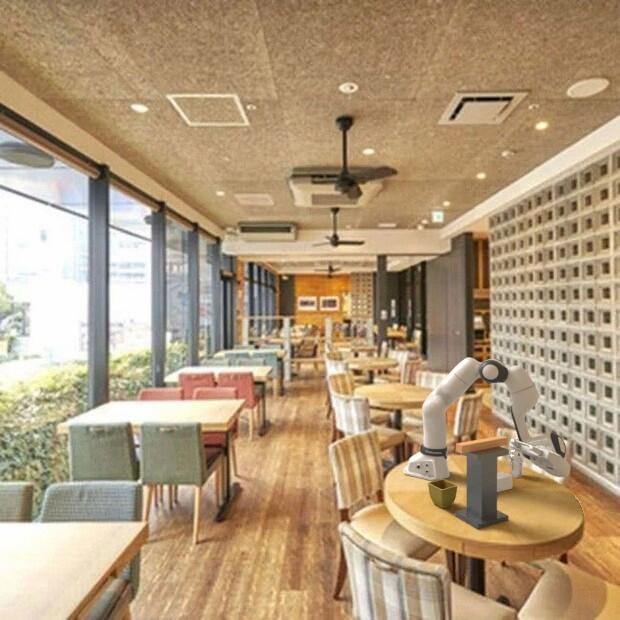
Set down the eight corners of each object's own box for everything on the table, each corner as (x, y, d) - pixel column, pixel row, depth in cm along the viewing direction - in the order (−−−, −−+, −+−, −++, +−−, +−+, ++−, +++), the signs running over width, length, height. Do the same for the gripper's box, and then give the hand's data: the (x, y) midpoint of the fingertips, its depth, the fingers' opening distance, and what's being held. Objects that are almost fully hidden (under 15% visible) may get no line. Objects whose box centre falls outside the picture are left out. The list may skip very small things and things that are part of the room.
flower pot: (441, 511, 192) (441, 489, 192) (427, 503, 200) (427, 482, 200) (457, 507, 196) (457, 485, 196) (442, 499, 204) (442, 478, 204)
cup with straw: (507, 471, 236) (507, 431, 235) (526, 474, 232) (527, 433, 232) (507, 477, 228) (507, 436, 227) (527, 480, 224) (527, 438, 224)
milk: (502, 483, 220) (466, 492, 211) (502, 470, 220) (466, 479, 210) (512, 488, 215) (476, 497, 205) (512, 475, 215) (476, 484, 205)
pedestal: (477, 529, 177) (477, 455, 176) (455, 516, 188) (455, 446, 187) (508, 520, 184) (508, 449, 183) (485, 508, 195) (485, 441, 194)
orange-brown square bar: (461, 453, 179) (461, 445, 179) (456, 451, 182) (456, 443, 181) (507, 444, 189) (507, 437, 189) (501, 442, 192) (501, 435, 192)
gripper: (523, 442, 210) (504, 430, 205) (565, 457, 192) (545, 444, 186) (518, 455, 209) (498, 443, 204) (559, 471, 190) (539, 459, 185)
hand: (521, 444), depth 195 cm, fingers open, 8 cm apart
